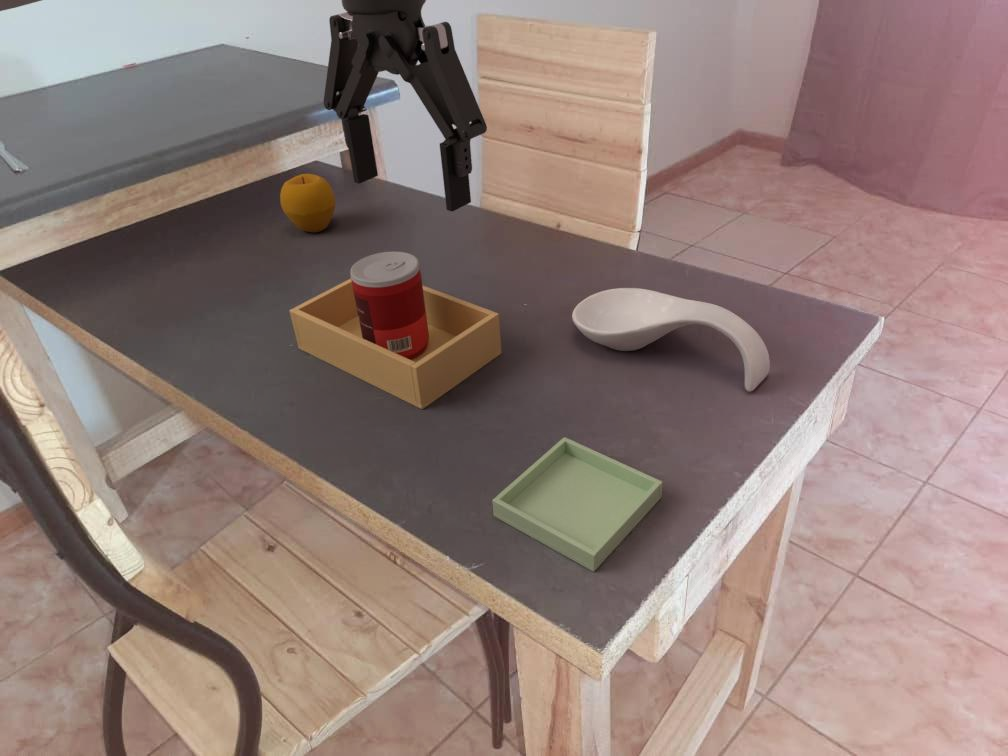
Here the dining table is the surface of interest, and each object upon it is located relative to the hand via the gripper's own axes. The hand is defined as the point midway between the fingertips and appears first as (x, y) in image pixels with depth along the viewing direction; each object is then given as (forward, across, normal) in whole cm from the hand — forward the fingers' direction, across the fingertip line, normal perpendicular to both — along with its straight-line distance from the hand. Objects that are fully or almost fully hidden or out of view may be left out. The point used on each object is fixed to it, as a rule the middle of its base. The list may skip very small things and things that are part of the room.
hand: (410, 192), depth 80 cm
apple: (+22, +44, -17) cm, 52 cm away
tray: (+21, -28, +9) cm, 36 cm away
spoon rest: (+22, -21, -18) cm, 35 cm away
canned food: (+21, +6, 0) cm, 22 cm away
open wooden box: (+21, +6, 0) cm, 22 cm away
